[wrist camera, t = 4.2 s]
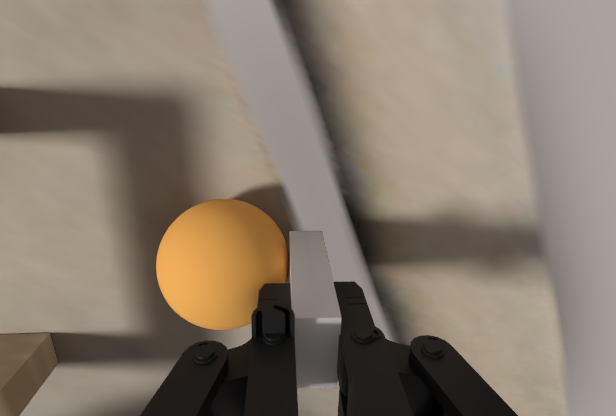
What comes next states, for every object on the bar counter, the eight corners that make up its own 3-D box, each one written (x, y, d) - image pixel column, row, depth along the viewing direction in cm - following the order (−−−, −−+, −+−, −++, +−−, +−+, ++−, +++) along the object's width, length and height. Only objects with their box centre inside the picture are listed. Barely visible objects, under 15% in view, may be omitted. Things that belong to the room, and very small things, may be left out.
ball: (304, 344, 16) (162, 372, 15) (273, 280, 21) (163, 296, 20) (306, 218, 15) (145, 234, 13) (271, 180, 20) (151, 188, 18)
